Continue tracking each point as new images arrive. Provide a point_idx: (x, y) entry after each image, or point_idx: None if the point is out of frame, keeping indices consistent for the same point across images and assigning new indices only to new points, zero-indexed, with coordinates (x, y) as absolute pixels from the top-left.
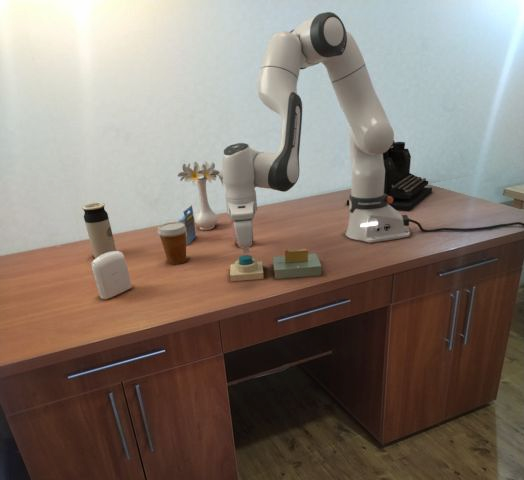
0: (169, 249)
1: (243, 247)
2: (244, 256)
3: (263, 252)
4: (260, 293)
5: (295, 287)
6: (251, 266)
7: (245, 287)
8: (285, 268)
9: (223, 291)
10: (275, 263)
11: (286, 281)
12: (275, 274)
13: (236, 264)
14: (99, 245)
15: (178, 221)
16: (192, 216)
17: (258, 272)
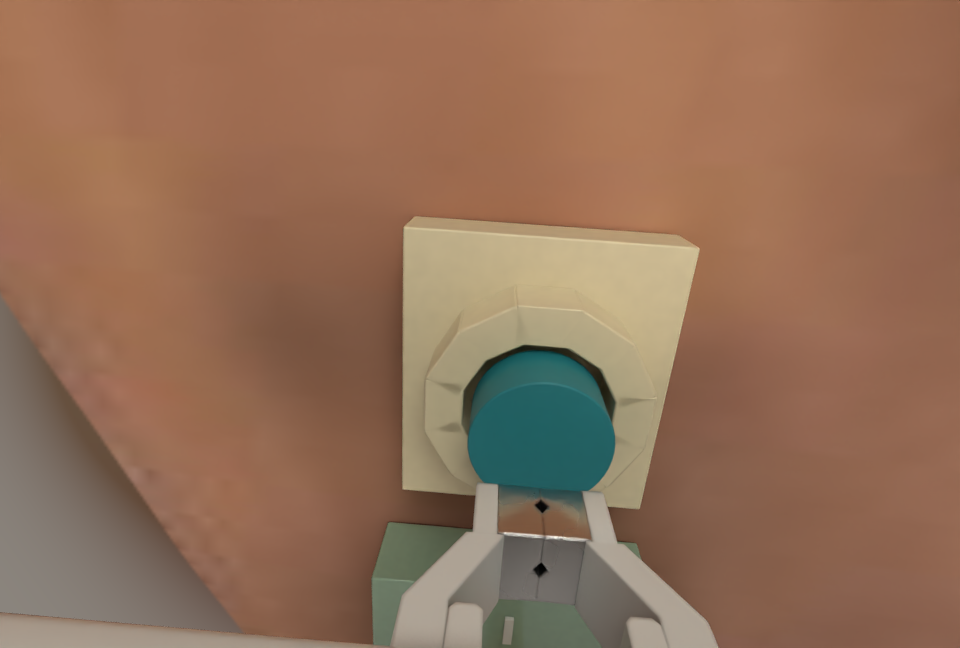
0: None
1: (462, 543)
2: (566, 441)
3: (956, 522)
4: (167, 408)
5: (246, 593)
6: (437, 445)
7: (277, 322)
8: (383, 636)
9: (213, 137)
10: (500, 599)
11: (341, 568)
12: (380, 549)
13: (506, 323)
14: None
15: None
16: None
17: (413, 460)
